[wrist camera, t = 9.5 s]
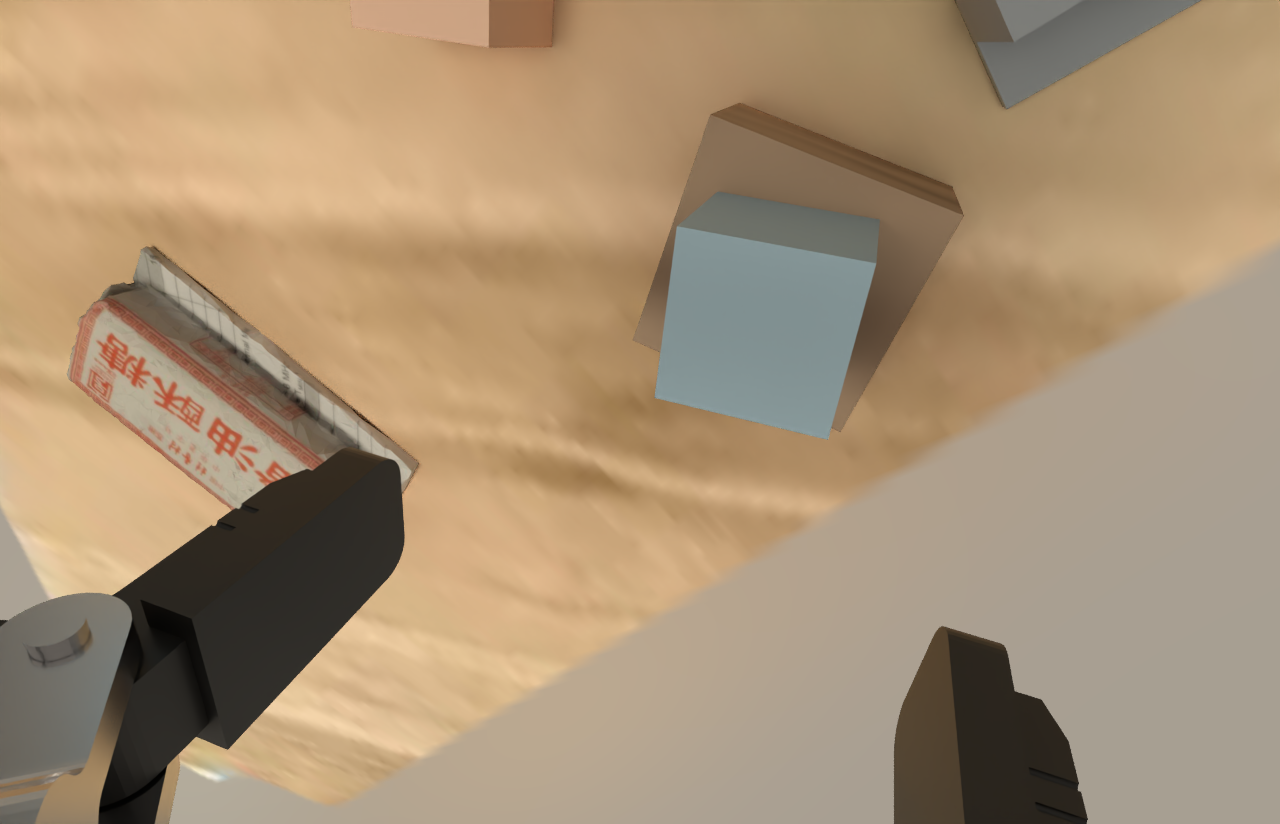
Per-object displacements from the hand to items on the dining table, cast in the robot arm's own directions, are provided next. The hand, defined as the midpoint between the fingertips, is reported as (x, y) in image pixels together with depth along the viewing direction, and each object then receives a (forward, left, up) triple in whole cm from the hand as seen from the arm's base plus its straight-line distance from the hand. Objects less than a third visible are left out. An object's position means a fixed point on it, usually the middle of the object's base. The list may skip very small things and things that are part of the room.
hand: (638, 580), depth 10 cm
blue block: (0, 0, -15) cm, 15 cm away
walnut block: (0, 0, -20) cm, 20 cm away
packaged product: (+15, -27, -21) cm, 37 cm away
